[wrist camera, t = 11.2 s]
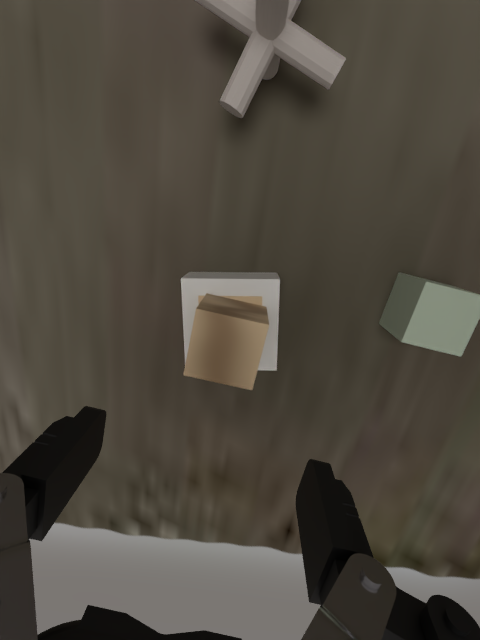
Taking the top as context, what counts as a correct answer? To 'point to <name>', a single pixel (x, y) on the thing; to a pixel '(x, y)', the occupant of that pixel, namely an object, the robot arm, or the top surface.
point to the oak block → (227, 341)
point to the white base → (238, 287)
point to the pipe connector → (270, 48)
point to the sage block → (431, 314)
